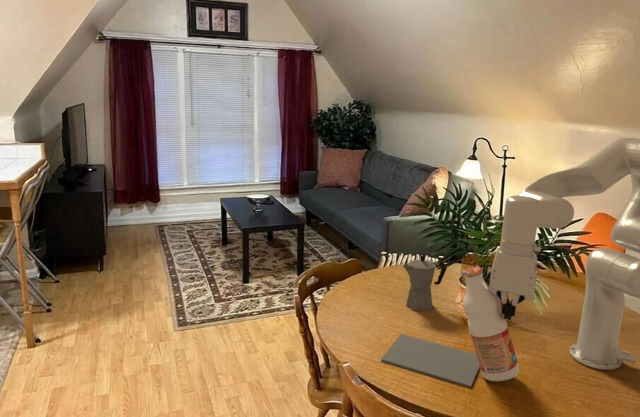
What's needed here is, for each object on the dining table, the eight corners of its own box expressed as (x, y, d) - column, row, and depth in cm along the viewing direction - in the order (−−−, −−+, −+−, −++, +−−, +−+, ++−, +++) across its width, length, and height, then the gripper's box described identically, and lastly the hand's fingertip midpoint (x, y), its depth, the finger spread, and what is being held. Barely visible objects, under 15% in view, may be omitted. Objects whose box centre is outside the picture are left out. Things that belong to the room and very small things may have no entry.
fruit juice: (475, 372, 129) (446, 273, 127) (507, 360, 130) (479, 261, 128) (494, 386, 119) (463, 278, 117) (527, 373, 121) (497, 266, 119)
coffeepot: (405, 312, 161) (408, 261, 156) (396, 300, 170) (399, 251, 165) (449, 310, 163) (453, 259, 159) (438, 298, 172) (442, 250, 168)
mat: (483, 357, 135) (483, 356, 134) (470, 387, 121) (470, 385, 121) (401, 335, 146) (401, 333, 146) (380, 360, 132) (381, 358, 132)
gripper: (552, 248, 116) (541, 318, 121) (487, 238, 123) (479, 305, 127) (549, 257, 110) (538, 331, 114) (481, 246, 116) (473, 316, 121)
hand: (507, 317), depth 121 cm, fingers closed
